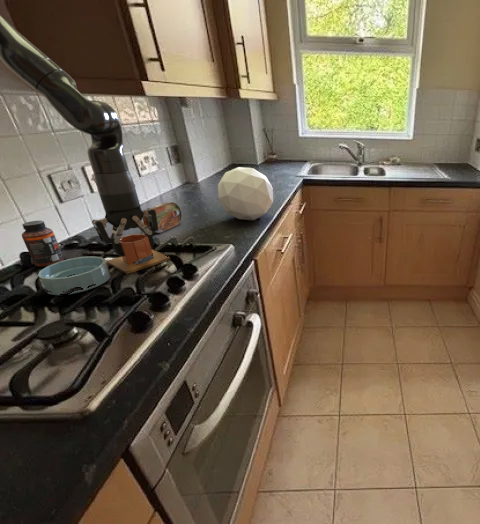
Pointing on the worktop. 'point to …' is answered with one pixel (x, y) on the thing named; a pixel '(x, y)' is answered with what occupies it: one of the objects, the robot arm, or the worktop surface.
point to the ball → (245, 193)
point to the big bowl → (85, 275)
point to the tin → (165, 216)
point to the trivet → (130, 268)
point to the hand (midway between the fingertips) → (136, 251)
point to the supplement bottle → (41, 244)
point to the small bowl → (135, 247)
